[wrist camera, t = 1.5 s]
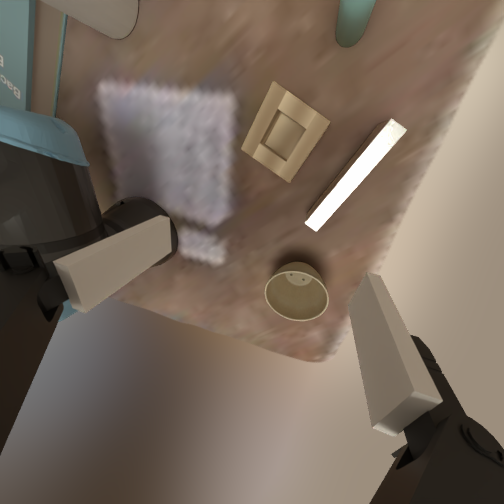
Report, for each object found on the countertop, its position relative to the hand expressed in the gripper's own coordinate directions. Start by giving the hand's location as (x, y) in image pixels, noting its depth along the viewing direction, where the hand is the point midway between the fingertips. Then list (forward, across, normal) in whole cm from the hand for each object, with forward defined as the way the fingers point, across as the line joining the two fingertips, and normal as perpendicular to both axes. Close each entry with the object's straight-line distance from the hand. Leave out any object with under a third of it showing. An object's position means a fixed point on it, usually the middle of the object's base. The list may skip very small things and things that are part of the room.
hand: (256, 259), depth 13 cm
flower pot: (+22, +5, -14) cm, 26 cm away
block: (+21, -3, +8) cm, 23 cm away
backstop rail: (+21, +7, +4) cm, 23 cm away
